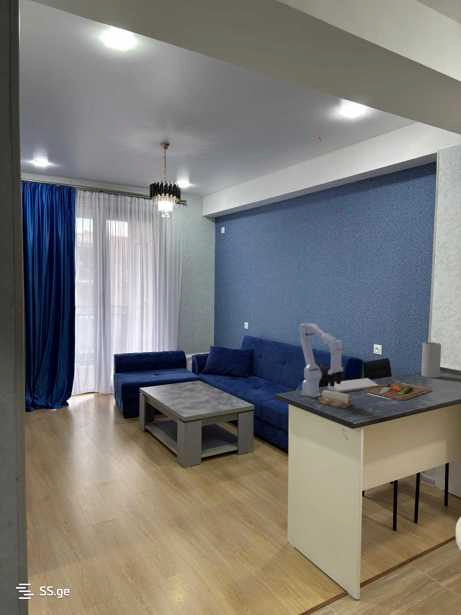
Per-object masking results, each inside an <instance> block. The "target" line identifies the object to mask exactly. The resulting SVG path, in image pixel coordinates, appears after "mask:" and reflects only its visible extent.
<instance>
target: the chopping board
mask: <svg viewBox="0 0 461 615" xmlns="http://www.w3.org/2000/svg"><path fill="white" fill-rule="evenodd" d="M430 392H432V389H431V388H427V387H423V386H418V385H413V384H407V383H402V382H397V381H396V382H395V381H394V382H393V381H392V382H388V383H385V384H381V385H380V384H379V386H377V387H373V388H369V389H363V393H365V394H366V395H369V396H372V397H377V398H382V399H385V400H390V401H392V400H396V401H401V402H402V401H407V400H410V399H413V398H416V397H419V396H423V395H425V394H428V393H430Z"/></svg>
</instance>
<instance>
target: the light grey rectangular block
mask: <svg viewBox="0 0 461 615" xmlns="http://www.w3.org/2000/svg"><path fill="white" fill-rule="evenodd" d="M321 398H326V399H331V400H335V401H340V402H345V403H346V404H347V403H348V399H349V393H345V392H340V393H339V392H334V391H333V390H328V389H324V390H322V392H321Z"/></svg>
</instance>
